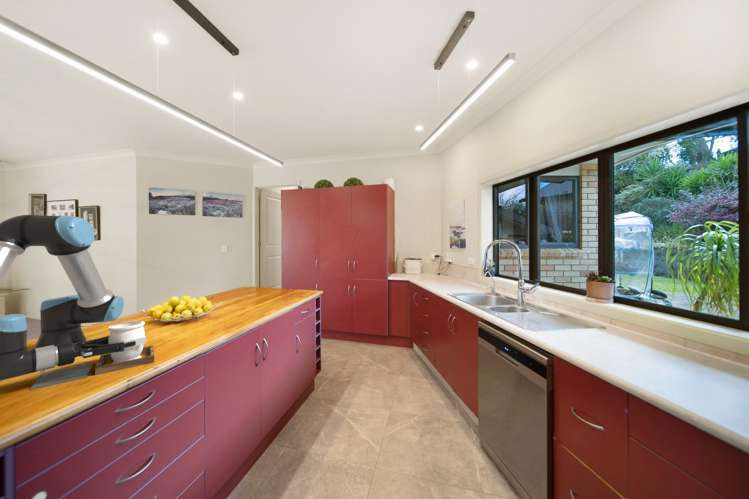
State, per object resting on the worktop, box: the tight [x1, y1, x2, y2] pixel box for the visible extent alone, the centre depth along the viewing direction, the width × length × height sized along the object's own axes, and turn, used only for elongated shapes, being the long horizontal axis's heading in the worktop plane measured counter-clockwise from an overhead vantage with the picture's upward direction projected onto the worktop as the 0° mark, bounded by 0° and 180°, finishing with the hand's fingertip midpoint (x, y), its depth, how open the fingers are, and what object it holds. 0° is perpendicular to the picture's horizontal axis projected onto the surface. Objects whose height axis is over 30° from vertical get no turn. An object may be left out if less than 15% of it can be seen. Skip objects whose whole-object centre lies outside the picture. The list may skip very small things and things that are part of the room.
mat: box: [30, 362, 93, 391], centre depth 92 cm, size 14×12×1 cm
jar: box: [107, 320, 146, 364], centre depth 103 cm, size 11×10×15 cm
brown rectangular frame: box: [94, 345, 155, 376], centre depth 103 cm, size 15×16×2 cm
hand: (141, 337), depth 106 cm, fingers closed on jar, 10 cm apart
